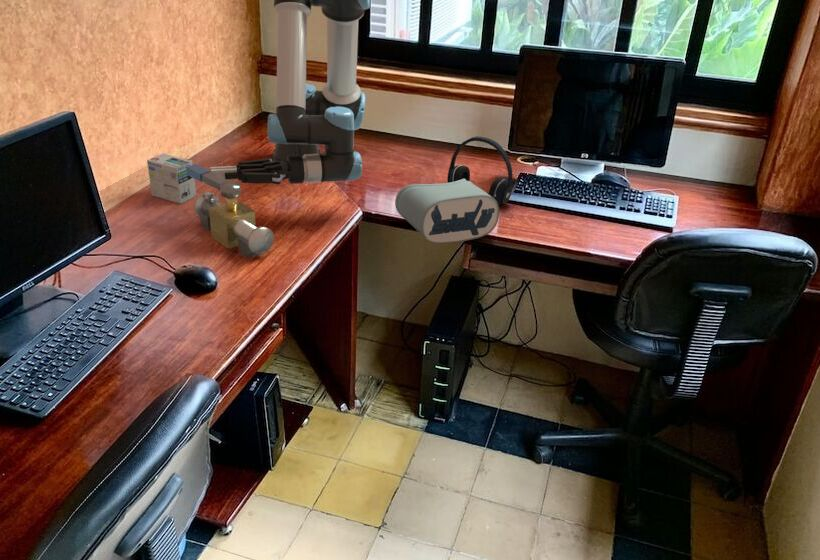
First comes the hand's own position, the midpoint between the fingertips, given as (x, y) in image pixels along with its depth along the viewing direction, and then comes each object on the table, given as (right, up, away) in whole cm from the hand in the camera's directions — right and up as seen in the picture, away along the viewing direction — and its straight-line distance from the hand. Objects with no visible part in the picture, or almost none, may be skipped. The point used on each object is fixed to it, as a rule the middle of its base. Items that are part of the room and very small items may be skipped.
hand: (210, 173), depth 187 cm
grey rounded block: (+60, -13, +12) cm, 62 cm away
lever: (+2, -3, -3) cm, 5 cm away
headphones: (+71, -3, +31) cm, 77 cm away
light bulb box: (-15, -4, +19) cm, 24 cm away
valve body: (+6, -16, -1) cm, 18 cm away
